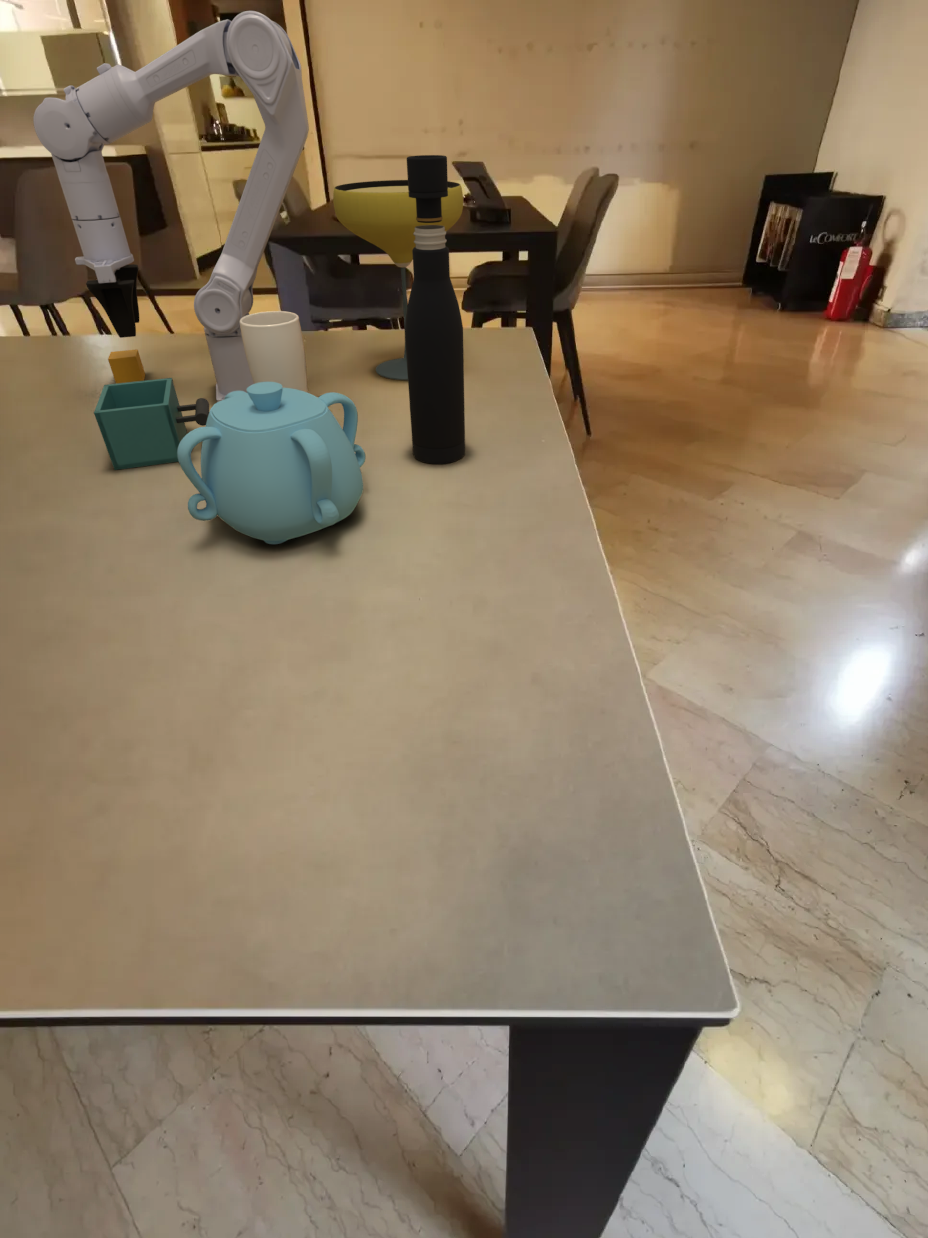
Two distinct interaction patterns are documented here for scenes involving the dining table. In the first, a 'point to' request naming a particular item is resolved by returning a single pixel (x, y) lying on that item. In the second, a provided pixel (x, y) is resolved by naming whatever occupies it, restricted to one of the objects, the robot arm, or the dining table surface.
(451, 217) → the cocktail glass
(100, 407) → the teal bevelled box
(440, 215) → the black bottle
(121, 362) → the block
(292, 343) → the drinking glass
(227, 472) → the decorative pot
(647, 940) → the dining table surface
